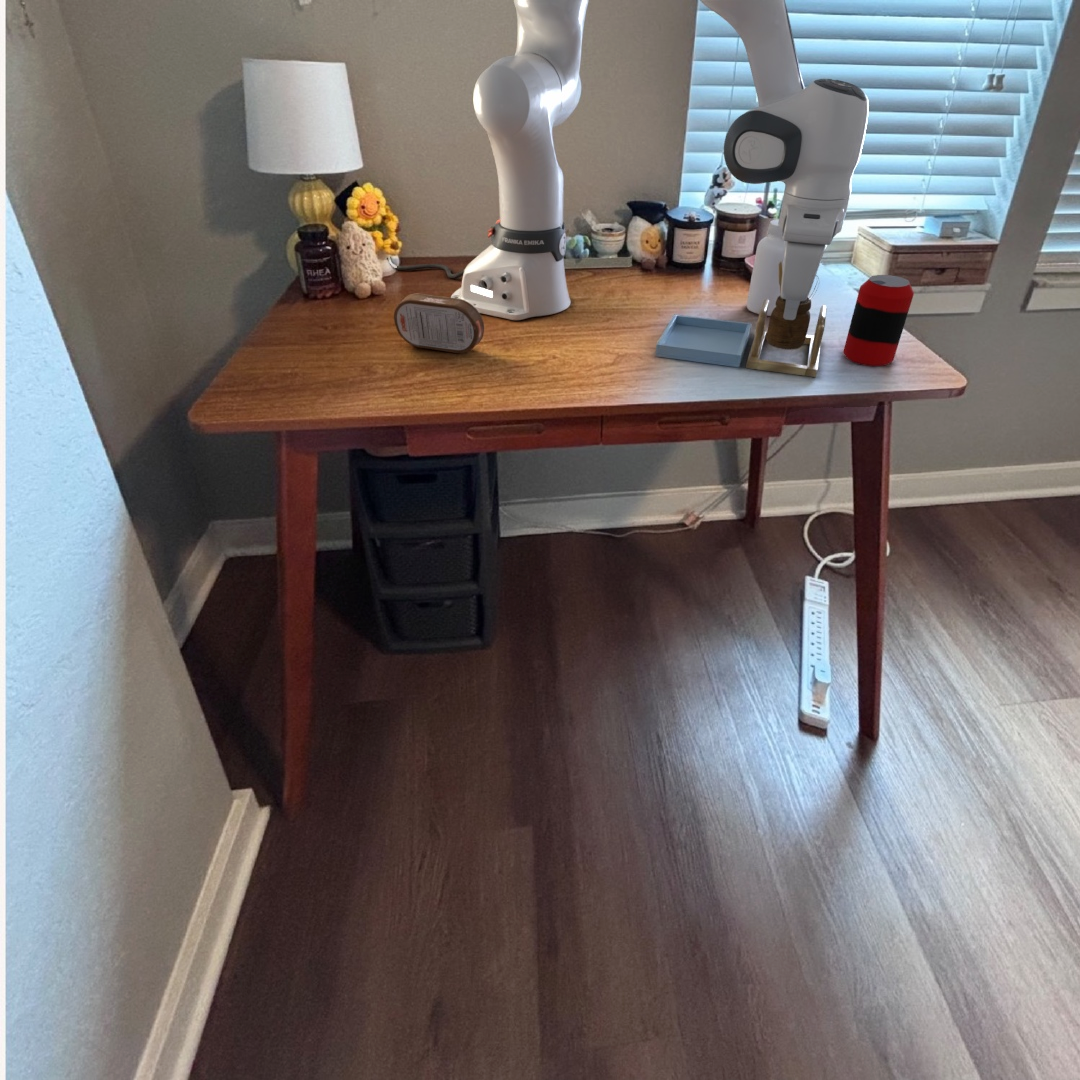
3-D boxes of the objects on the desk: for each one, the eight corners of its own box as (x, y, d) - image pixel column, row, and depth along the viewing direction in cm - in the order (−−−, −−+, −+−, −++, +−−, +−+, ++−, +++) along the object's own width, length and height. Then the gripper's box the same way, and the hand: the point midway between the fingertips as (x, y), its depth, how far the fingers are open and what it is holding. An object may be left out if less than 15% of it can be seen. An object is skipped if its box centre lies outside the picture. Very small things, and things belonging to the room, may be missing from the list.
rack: (745, 368, 112) (753, 323, 107) (755, 335, 122) (763, 293, 118) (815, 377, 109) (826, 332, 104) (819, 343, 119) (830, 300, 115)
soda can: (832, 352, 116) (851, 276, 109) (868, 344, 119) (889, 270, 111) (867, 370, 111) (889, 291, 103) (904, 361, 113) (928, 284, 106)
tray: (655, 356, 115) (656, 344, 114) (672, 325, 126) (674, 314, 125) (739, 367, 112) (741, 355, 110) (749, 334, 122) (751, 323, 121)
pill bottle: (792, 318, 128) (811, 229, 119) (746, 315, 129) (761, 227, 120) (789, 303, 134) (807, 218, 125) (745, 300, 136) (759, 215, 127)
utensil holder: (800, 353, 111) (820, 274, 104) (759, 345, 113) (775, 267, 106) (807, 339, 115) (825, 262, 108) (767, 333, 117) (783, 257, 110)
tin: (486, 350, 117) (483, 299, 112) (478, 358, 115) (475, 306, 110) (403, 339, 121) (397, 289, 116) (394, 346, 119) (387, 295, 114)
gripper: (794, 197, 111) (776, 287, 120) (783, 230, 96) (763, 331, 104) (837, 201, 110) (815, 292, 118) (833, 235, 94) (808, 337, 103)
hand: (790, 310), depth 111 cm, fingers closed on utensil holder, 5 cm apart
